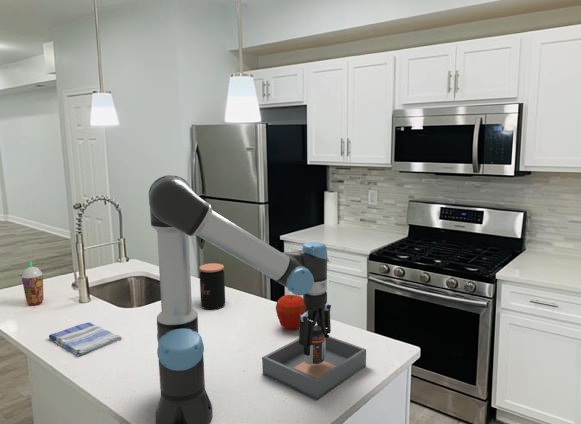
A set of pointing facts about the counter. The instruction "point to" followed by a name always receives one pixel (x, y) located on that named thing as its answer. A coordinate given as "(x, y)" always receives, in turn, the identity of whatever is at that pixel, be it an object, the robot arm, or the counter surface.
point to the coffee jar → (212, 286)
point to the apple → (290, 311)
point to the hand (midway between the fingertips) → (315, 359)
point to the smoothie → (33, 285)
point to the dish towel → (84, 338)
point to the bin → (314, 367)
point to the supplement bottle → (318, 345)
